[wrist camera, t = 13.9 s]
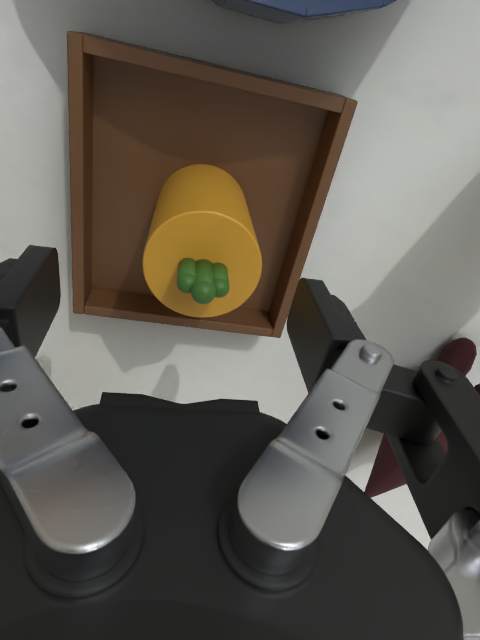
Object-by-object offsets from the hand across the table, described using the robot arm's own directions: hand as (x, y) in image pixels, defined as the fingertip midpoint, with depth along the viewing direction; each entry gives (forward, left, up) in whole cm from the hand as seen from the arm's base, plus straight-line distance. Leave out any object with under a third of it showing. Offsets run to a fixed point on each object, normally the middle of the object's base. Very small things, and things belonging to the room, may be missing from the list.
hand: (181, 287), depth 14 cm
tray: (+1, 0, -10) cm, 10 cm away
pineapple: (+1, 0, -10) cm, 10 cm away
